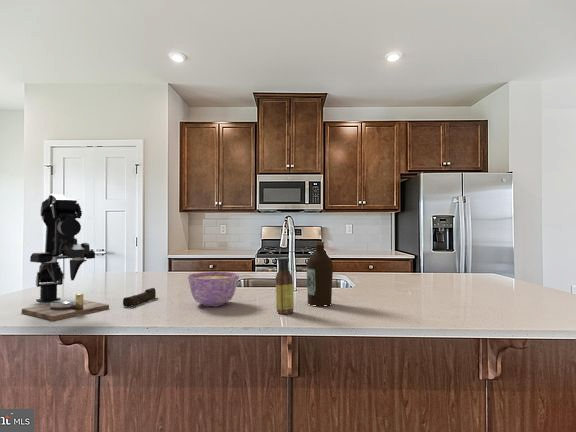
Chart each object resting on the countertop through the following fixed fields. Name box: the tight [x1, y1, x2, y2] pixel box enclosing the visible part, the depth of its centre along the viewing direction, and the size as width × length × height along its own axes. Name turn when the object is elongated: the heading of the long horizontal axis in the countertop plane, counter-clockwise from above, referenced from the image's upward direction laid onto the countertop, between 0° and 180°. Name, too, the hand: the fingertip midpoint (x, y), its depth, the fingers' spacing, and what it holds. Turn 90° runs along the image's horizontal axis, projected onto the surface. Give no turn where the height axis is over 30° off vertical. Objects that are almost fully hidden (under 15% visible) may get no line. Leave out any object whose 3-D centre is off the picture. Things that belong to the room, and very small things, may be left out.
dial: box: [49, 293, 84, 310], centre depth 132 cm, size 14×10×5 cm
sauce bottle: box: [275, 257, 294, 315], centre depth 132 cm, size 6×6×20 cm
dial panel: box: [21, 299, 110, 322], centre depth 132 cm, size 20×20×2 cm
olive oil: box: [305, 241, 334, 306], centre depth 146 cm, size 11×11×25 cm
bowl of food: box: [187, 271, 240, 307], centre depth 145 cm, size 20×20×12 cm
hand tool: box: [122, 287, 157, 308], centre depth 148 cm, size 19×4×5 cm, turn 165°
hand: (64, 281), depth 124 cm, fingers open, 5 cm apart
